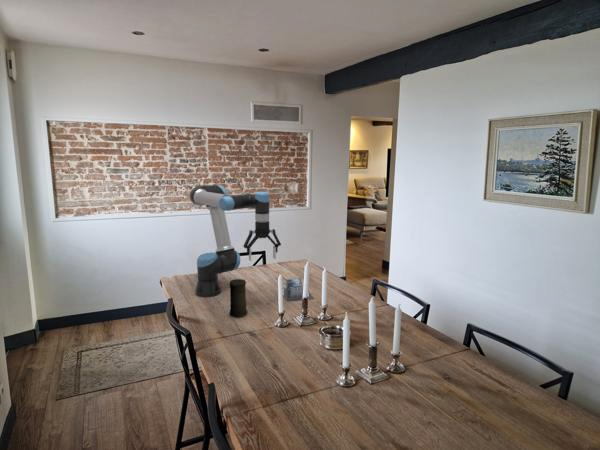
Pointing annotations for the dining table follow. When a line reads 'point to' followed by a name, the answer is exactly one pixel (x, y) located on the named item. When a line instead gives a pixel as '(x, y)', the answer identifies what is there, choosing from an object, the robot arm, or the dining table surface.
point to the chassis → (294, 291)
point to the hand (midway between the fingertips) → (262, 259)
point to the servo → (296, 283)
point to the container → (238, 298)
